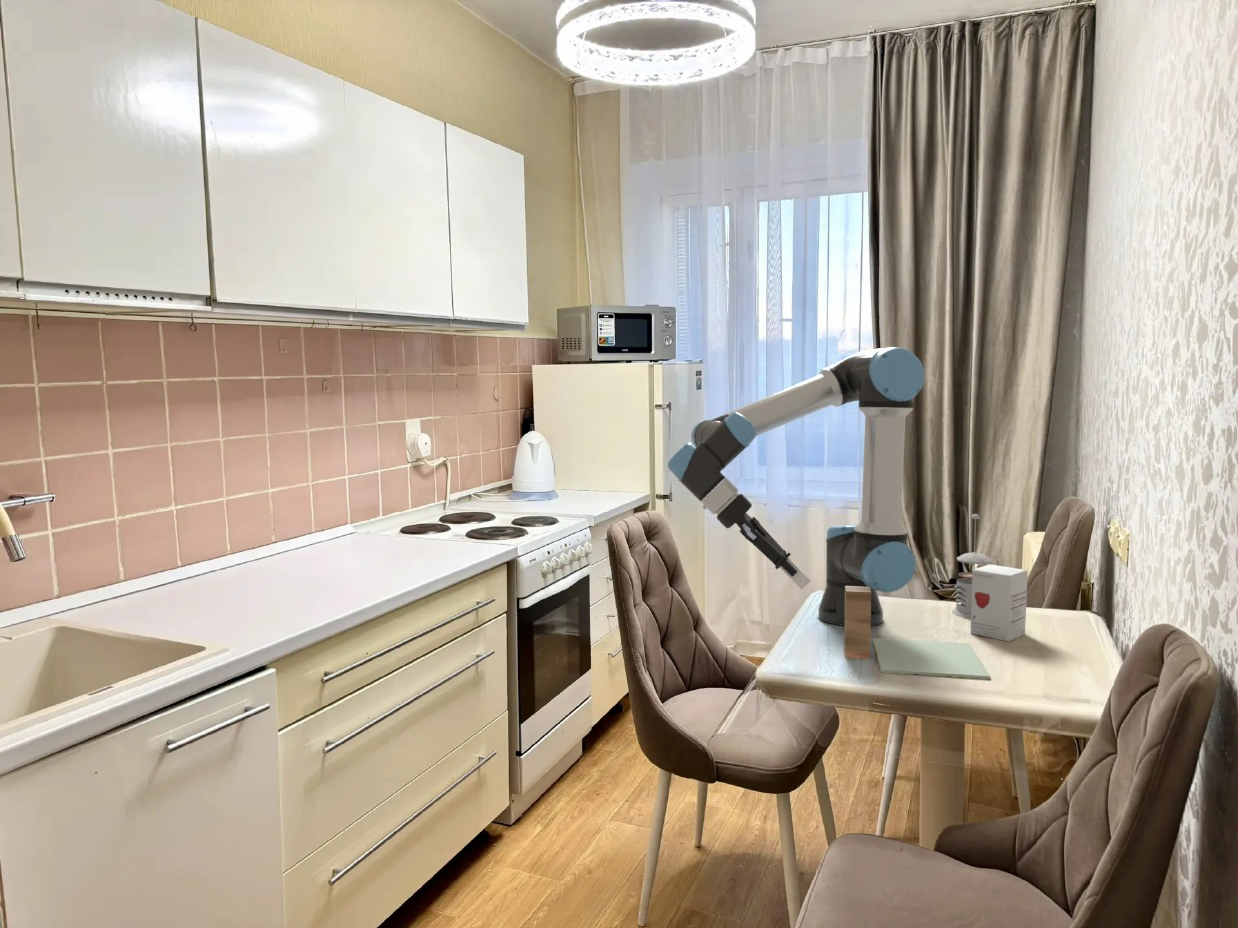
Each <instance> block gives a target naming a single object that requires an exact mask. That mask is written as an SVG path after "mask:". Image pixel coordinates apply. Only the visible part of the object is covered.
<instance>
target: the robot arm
mask: <svg viewBox="0 0 1238 928" xmlns="http://www.w3.org/2000/svg"><path fill="white" fill-rule="evenodd" d="M924 383H925V370H924V367H923V364H922V362H921V360H920V359H919V358H918V357H917V355H915V353H913V352H912V351H911V350H909V349H906V348H904V347H895V346H890V347H888V346H887V347H883V348H875V349H867V350H866V349H865V350H861V351H858V352H856V353H854V354H852V355H850V356H848V357H846V358H844V359H841V360H840V361H838V362H836V363H833V364H831V365H829V366H826V367H825V368H822V369H821V370H820V371H819V375H816V376H814V377H812V378H810V379H807V380H805V381H802V382H799V383H797V384H795V385H793V386H790V387H787V388H785V389H783V390H781V391H778V392H776V393H773V394H770V395H768V396H766V397H763V398H761V399H758V400H756V401H754V402H751V403H748V404H745V406H744V405H743V406H742V407H740V408H737V409H734V410H732V411H730V412H727V413H725V414H723V415H719V416H717V417H715V418H712V419H706V420H702V421H700V422H698V423H697V424H696V425H695V426H694V427H693V428H692V431H691V435H690V437H691V442H687V443H685V444H684V445H683V446H682V447H681V448H680V449H679V450H677V452H676V453H675V454H673V456H672V457H671V458H670V459H669V461H668V463H667V466H668V467H667V468H668V469H669V470H670V471H671V473H672V474H673V475H674V476H675V477H676V478H677V479H678V481H679V482H680V483H681V484H682V485H683V486H684V487H685V488H686V489H687V490H688V491H689V492H690V493H691V494H692V495H693V496H695V498H696V499H697V500H699V502H701V504H702V509H703V510H708V511H709V512H710V513H711V514H712V515H716V519H717V521H719V522H720V524H721V525H723V526H724V528H726V529H730V528H731V527H732V526H734V525H735V524H736V525H737V527H738V528H739V529H740V530H739V532H740V534H741V535H742V536H743V537H744V538H745V540H747V541H748V542H750V543H751V544H752V545H753V546H754V547H755V548H756V549H758V551H760V552H761V553H762V554H763V555H764V556H765V557H766V558H767V559H768V560H769V561H770V562H771V563H773V565H774V569H776V570H778V569H779V568H780V569H781V571H783V572H784V573H785V574H786V575H787V577H789V578H790V579H791V580H792V581H793V583H794V584H795V585H796V586H797V587H798V588H800V590H803V589H804V588H805V587H806V586H807V585H808V584H810V583H811V581H812V579H811V578H810V577H809V576H808V575H807V574H806V573H805V572H804V571H803V570H802V569H801V568H800V567H799V565H797V564H796V563H795V562H794V560H793V559H792V558H790V556H792V554H791V553H790V552H788V553H787V551H786V550H785V549H784V548H783V547H782V546H781V545H780V544H779V543H778V542H777V540H775V539H774V538H773V536H772V535H771V534H769V532H768V531H767V530H766V529H765V528H764V527H763V526H762V524H761V523H760V520H758V519H757V518H756V517H755V516H750V515H749V514H748V511H749V510H750V509H752V503H751V501H750V500H749V499H748V498H747V497H745V495H744V494H741V493H738V492H739V489H738V488H737V487H736V486H735V485H734V484H733V483H732V482H731V481H730V480H729V478H727V477H726V476H725V475H724V474H723V473H722V471H723V470H724V469H725V468H726V467H727V466H728V465H729V464H731V463H732V461H734V460H735V458H737V457H738V456H739V455H740V454H741V453H742V452H743V451H744V450H745V449H747V448H748V447H749V446H750V444H751V443H752V442H753V441H754V440H755V439H756V437H757V436H759V435H762V434H765V433H767V432H769V431H772V430H774V429H776V428H780V427H781V426H783V425H785V424H789V423H790V422H793V421H796V420H799V419H801V418H802V417H805V416H808V415H810V414H813V413H815V412H817V411H820V410H822V409H824V408H827V407H830V406H833V407H836V408H838V407H841V406H843V405H846V404H848V403H852V402H858V409H859V410H860V411H861V413H863V415H864V416H865V417H864V439H863V440H864V442H863V443H864V444H863V464H862V465H863V466H862V467H863V470H862V489H861V490H862V491H861V493H862V494H861V495H862V496H861V520H860V521H859V523H858V524H843V525H831V526H830V527H829V528H827V531H826V532H827V533H826V539H825V541H826V542H825V543H826V566H825V567H826V570H825V571H826V572H825V573H826V575H825V576H826V581H825V582H826V585H825V588H824V592H823V595H822V597H821V600H820V603H819V606H818V618H819V620H821V621H823V622H826V623H829V624H832V625H837V626H844V624H845V586H862V587H870V590H871V627H872V626H875V625H879V624H881V623H883V621H884V612H883V607H882V604H881V601H880V597H879V594H878V592H883V593H892V592H896V591H899V590H900V589H902V588H904V587H905V586H906V585H907V584H909V582H911V580H912V578H913V577H914V574H915V571H916V567H917V560H916V555H915V554H914V552H913V551H912V549H911V548H910V547H909V546H908V534H909V533H908V530H907V529H906V527H905V526H903V524H902V504H903V481H904V461H905V459H904V458H905V439H906V437H905V434H906V417H907V416H908V415H909V414H910V413H911V412H912V411H913V410H914V398H915V397H916V396H917V395H918V393H919V392H921V390H922V389H923V386H924ZM877 591H878V592H877Z"/></svg>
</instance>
